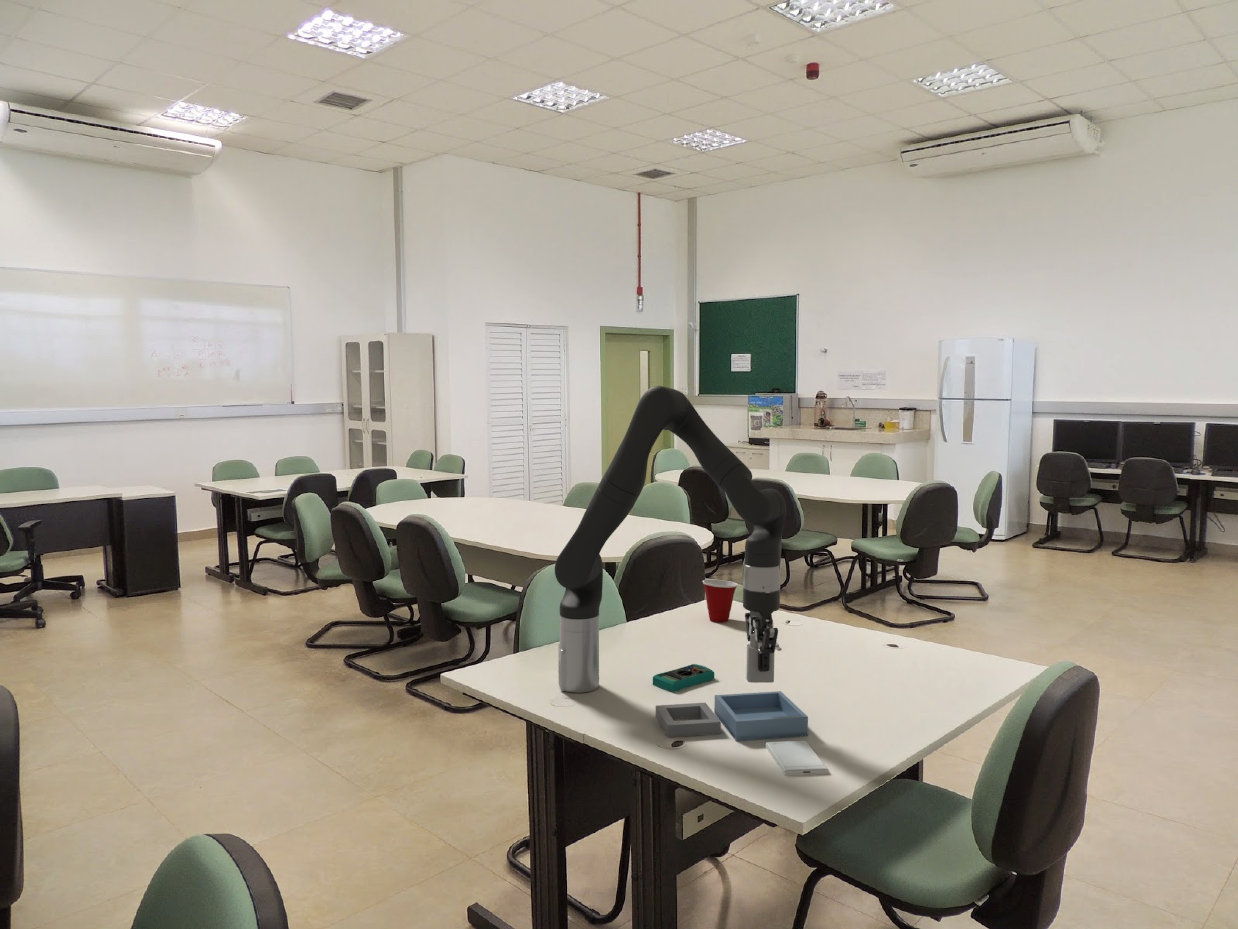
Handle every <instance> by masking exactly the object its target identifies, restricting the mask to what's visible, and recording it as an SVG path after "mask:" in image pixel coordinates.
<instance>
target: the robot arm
mask: <svg viewBox="0 0 1238 929" xmlns="http://www.w3.org/2000/svg"><path fill="white" fill-rule="evenodd" d="M663 430H664V431H669V432H671V433H672V434H674V435H675V436H676V437H677V438H679V439H680V440H682V441H683V442H684V443H685V444H686V445H687V446H688V448H689V449H690V450H691V451H692V452H693V454H694V456H695V457H696V459H697V462H698V463H699V464H700V466H701V468H702V469H703V471H704V472H705V473H706V474H707V475H708V476H709V478H710V479H711V480H712V481H713V482H714V483H715V484H716V485H717V486H718V487H719V488H720V489H721V490H722V491H723V492H724V493H725V495H726V496H727V498H728V500H729V502H730V504H731V505H732V507H733V509H734V511H735V512H736V514H737V515H738V516H739V517H740V518H741V519H742V520H743V521H745V522H746V523H748V524H749V525H752V526H753V531H752V534H751V535H749V536H748V537H746V538H747V539H746V540H745V545H744V568H743V573H742V574H743V575H742V580H743V581H742V582H743V583H742V607H743V609H745V610H746V611H749V612H745V614H744V617H745V618H744V619H745V627H746V628H745V630H746V639H747V642H750V635H751V634H754V633H755V641H756V642H757V643H758V652H759V653H758V670H759V671H760V672H766V671H769V662H770V653H774V654H775V652H776V649H775V647H776V642H778V640H777V639H778V634H779V629H778V627H774V620H773V615H772V614H773V613H774V612H777V611H779V609H780V608H781V571H780V545H781V544H780V543H781V540H782V536H783V532H784V528H785V522H786V519H787V504H786V501H785V497H784V496H783V494H782V493H781V492H780V491H779V490H777V489H775V488H763V489H758V488H757V487H756V485H754V483H753V482H752V481H753V474H752V471H751V470H750V468H749V467H747V465H746V464H745V463H744V462H743V461H742V460H741V458H739V457H738V456H737V455H736V454H735V453H734V452H733V451H732V450H730V448H728V446H727V445H725V443H724V442H723V441H721V440H720V439H719V437H718V436H717V435H716V434H715V433H714V431H713V430H712V429H711V428H710V427H709V426H708V425H707V424H706V422H705V421H704V420H703V419H702V417H701V416H700V414H699V413H698V411H697V409H695V407H694V405H693V404H692V402H691V401H690V400H689V398H688V397H687V396H686V395H685V393H683V392H681V391H680V390H678V389H675V388H670V387H667V386H662V385H656V386H655V385H654V386H651V387H650V388H648V389H647V390H646V391H645V392H644V393H643V394H642V395H641V397H640V399H639V402H638V404H637V406H636V408H635V410H634V412H633V415H632V418H631V420H630V423H629V425H628V427H627V429H626V432H625V434H624V437H623V439H622V441H621V443H620V444H619V445H618V448H617V451H616V452H615V454H614V456H613V457H612V460H611V462H610V463H609V466H607V469H606V471H605V472H604V473H603V476H602V478H601V479H600V482H599V483H598V486H596V490H595V492H594V493H593V496H592V497H591V500H590V501H589V503H588V505H587V508H586V509H585V511H584V514H583V516H582V518H581V520H580V522H579V524H578V526H577V528H576V529H575V531H574V533H573V534H572V535H571V537H570V538H569V540H568V542H567V543H566V544H565V546H564V547H563V549H562V550H561V551H560V554H559V555H558V556H557V558H556V559H555V564H554V575H555V579H556V581H557V582H558V584H559V585H560V586H561V587H563V588H564V589H565V591H564V595H563V597H562V599H561V601H560V603H559V643H558V645H557V646H558V686H559V689H560V691H561V692H568V693H576V694H577V693H579V694H580V693H581V694H582V693H589V692H592V691H595V690H598V688H599V687H600V605H601V604H602V603H601V602H602V598H603V582H604V566H603V565H604V564H603V558H602V556H601V554H600V553H601V552H602V549H603V548H604V546H605V544H606V543H607V541H608V540H609V538H610V537H611V536H612V535H613V533H614V532H615V531H616V530H617V529H618V528H619V527H620V526H621V524H622V523H623V522H624V521H625V519H626V518H627V517H628V515H629V514H630V512H631V511H632V509H633V508H634V506H635V504H636V502H637V501H638V499H639V496H640V495H641V494H642V491H643V490H644V487H645V483H646V478H647V470H648V462H649V457H650V453H651V451H652V449H653V447H654V445H655V443H656V441H657V439H659V436H660V435H661V433H662V432H663ZM753 630H754V632H753ZM760 636H763V638H760ZM766 646H767V647H766Z"/></svg>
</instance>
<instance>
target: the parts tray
mask: <svg viewBox="0 0 1238 929" xmlns="http://www.w3.org/2000/svg"><path fill="white" fill-rule="evenodd" d="M713 713H714V714H715V715H716V717H717V718H718V719H719V720H720V722H721V724H722V725H723V726H724V727H725V729H726V731H727V732H729V734H730V735H731V737H732V738H733V740H735V742H742V741H744V742H745V741H757V740H770V739H771V740H773V739H785V738H799V737H800V736H801V737H808V732H809V731H808V730H809V716H808V715H807V714H806V713H805V712H804V711H803V710H801V708H800V707H798V706H797V704H795V703H794V702H793V701H792V700H791V699H790V698H789V697H787V695H786V694H785V693H783V691H781V690H780V691H779V690H777V691H764V692H762V691H761V692H747V693H746V692H745V693H743V692H742V693H731V694H729V693H728V694H714V711H713Z"/></svg>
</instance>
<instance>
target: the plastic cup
mask: <svg viewBox="0 0 1238 929" xmlns="http://www.w3.org/2000/svg"><path fill="white" fill-rule="evenodd" d="M702 583H703V588H704V593H705V601H706V607H707V613H708V618H709V621H710V622H713V623H727V622H729V619H730V616H731V615H730V614H731V611H732V605H733V600H734V596H735V593H736V592H735V591H736V589H737V587H738V586H739V584H738V583H736V582H734V581H730V580H725V579H715V578H714V579H704V580H702Z"/></svg>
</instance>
